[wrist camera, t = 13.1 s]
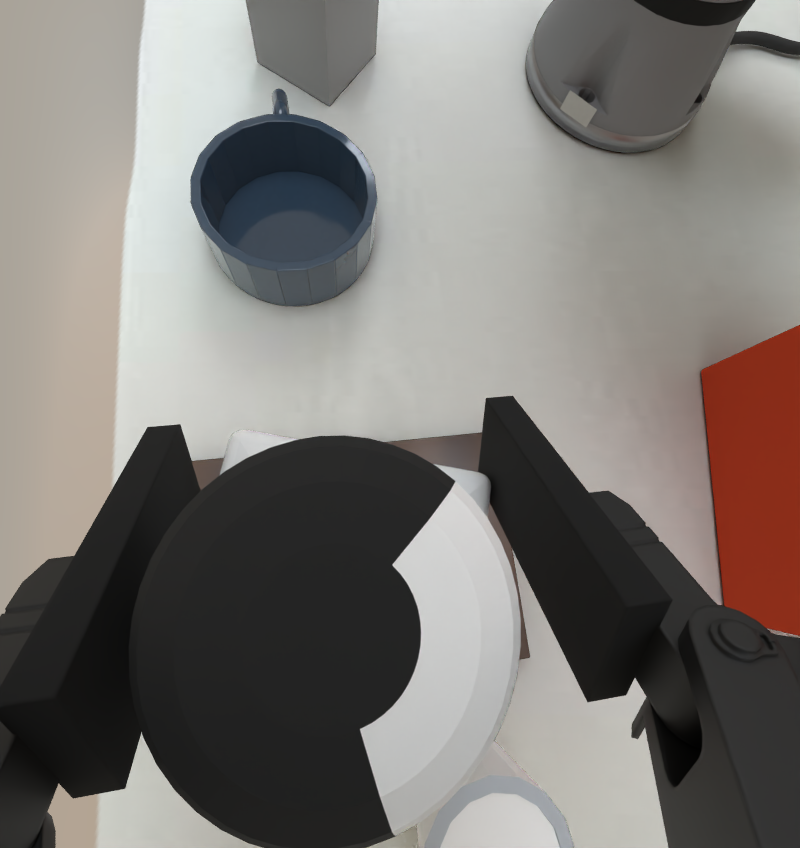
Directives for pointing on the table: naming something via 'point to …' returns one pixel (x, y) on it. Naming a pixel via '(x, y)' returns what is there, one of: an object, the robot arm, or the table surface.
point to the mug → (286, 206)
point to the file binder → (758, 477)
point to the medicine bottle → (325, 641)
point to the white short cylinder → (496, 811)
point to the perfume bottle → (315, 41)
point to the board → (436, 451)
